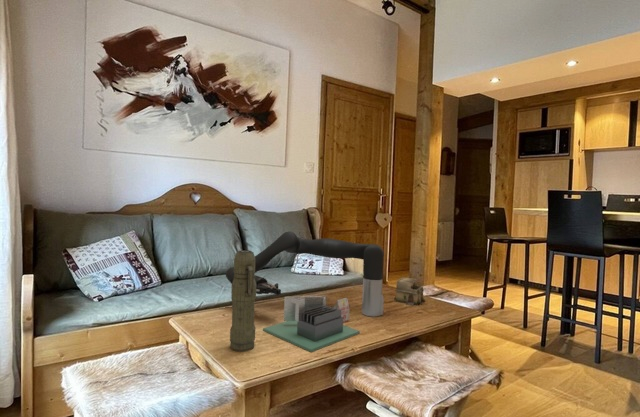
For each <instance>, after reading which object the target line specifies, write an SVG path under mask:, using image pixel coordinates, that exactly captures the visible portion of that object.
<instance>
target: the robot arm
mask: <svg viewBox="0 0 640 417" xmlns="http://www.w3.org/2000/svg"><path fill="white" fill-rule="evenodd" d="M284 251H285V252H286V253H288V254H289V253H290V254H305V255H306V254H308V255H313V256H316V257H317V256H318V257H323V258H329V259H357V260H362V261H363V262H362V273H363V275H362V277H363V278H362V297H361V298H362V301H361V314H362V315H363V316H367V317H373V318H374V317H375V318H376V317H381V316H383V315H384V299H385V298H384V295H383V279H384V278H383V277H384V254H385V251H384V250H383V247H381V246H380V245H379V244H375V243H355V242H351V241H345V240H341V239H335V238H317V239H316V238H315V239H307V238H303V237H298V236H297V234H296V233H295V232H294V231H286V232H284V233H282V234H281V235H280V236H279V237H277V238H276V240H274V241H273V242H272V243H271V244H269V245H268V246H267V247H266V248H265V249H264V250H262V251H260V252H259V253H257V254H256V255H254V256H255V273H254V276H255V281H256V295H262V294H264V295H269V294H273V295H277V296H279V295H281V294H282V290H281V289H280V288H279V283H277V282H276V283H275V284H273V283H270V282H269V281H268V280H267V279H266V278H264V277H262V276H258V275H255V274H256V273H257V272H260V270H262V269H263V268H265V267H266V266H267V265H268V264H269V263H270V262H271V261H272V260H273V259H274V258H275V257H276V256H277V255H279V254H281V253H283V252H284ZM225 277H226V279H227V280H228V282H229V283H230V284H231V285H232V283H233V280H234V266H231V267H229V268H228V269H227V270H226V272H225Z"/></svg>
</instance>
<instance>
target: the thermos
mask: <svg viewBox="0 0 640 417" xmlns="http://www.w3.org/2000/svg"><path fill="white" fill-rule="evenodd" d="M255 256H256V255H255V253H254V251H252V250H249V249H247V250H246V249H245V250H243V249H242V250H241V249H240V250H238V251H237V252H236V253H235V255H234V259H233V267H234V280H233V283H232V284H231V295H230V296H231V297H230V298H231V301H232V302H231V303H232V304H231V306H232V307H231V308H232V310H231V314H232V317H231V327H230V331H229V341H230V345H229V347H230V350H232V351H234V352H240V353H241V352H242V353H243V352H248V351H251V350H253V349H254V348H255V341H256V326H255V301H256V300H257V293H256V281H255V276H254V275H255V274H256V273H255Z"/></svg>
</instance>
